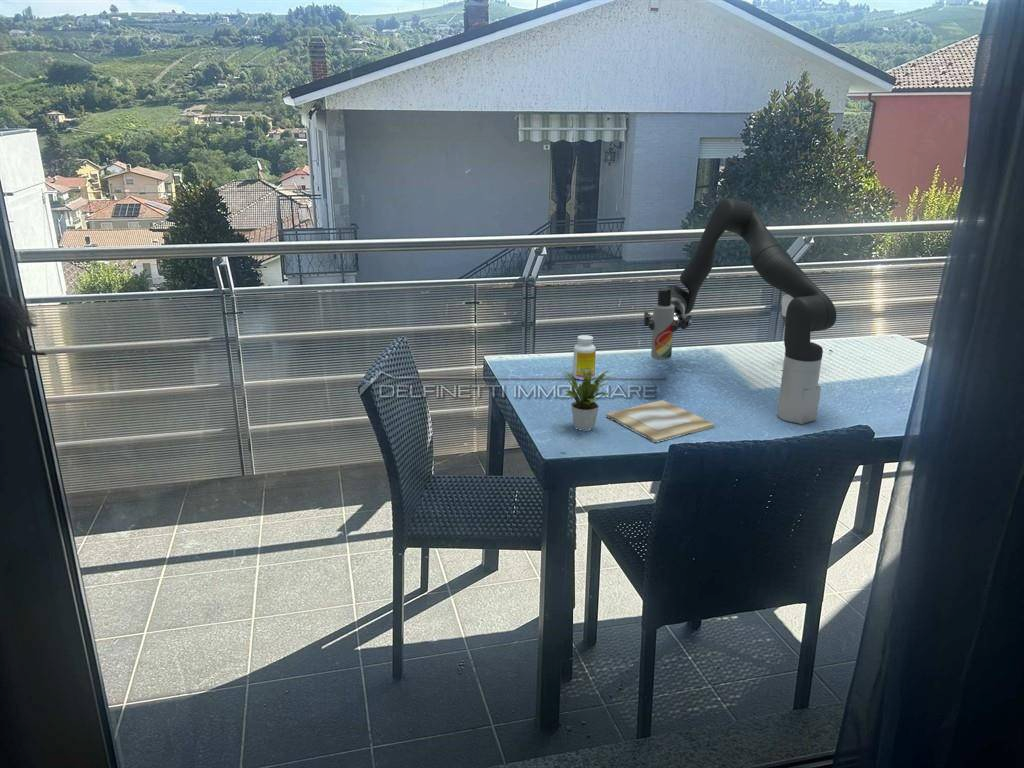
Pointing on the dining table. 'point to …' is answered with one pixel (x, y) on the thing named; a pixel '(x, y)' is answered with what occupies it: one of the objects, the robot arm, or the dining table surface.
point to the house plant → (585, 400)
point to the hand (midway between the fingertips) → (662, 327)
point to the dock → (660, 420)
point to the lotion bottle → (662, 326)
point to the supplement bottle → (584, 357)
